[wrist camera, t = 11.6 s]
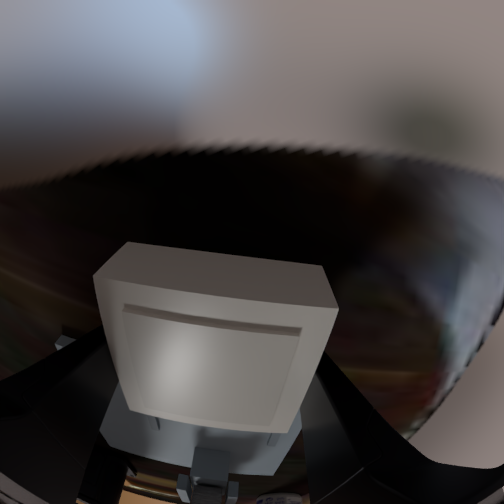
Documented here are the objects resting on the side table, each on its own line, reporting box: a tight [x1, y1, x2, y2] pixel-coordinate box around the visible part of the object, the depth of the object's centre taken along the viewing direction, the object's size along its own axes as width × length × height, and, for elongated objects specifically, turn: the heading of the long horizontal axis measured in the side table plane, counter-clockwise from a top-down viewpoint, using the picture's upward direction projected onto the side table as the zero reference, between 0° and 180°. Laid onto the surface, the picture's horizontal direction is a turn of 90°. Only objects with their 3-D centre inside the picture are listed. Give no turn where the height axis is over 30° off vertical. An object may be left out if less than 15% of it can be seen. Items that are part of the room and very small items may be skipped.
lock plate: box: [55, 335, 302, 504], centre depth 13 cm, size 14×14×4 cm
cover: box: [93, 242, 339, 433], centre depth 8 cm, size 6×6×2 cm
